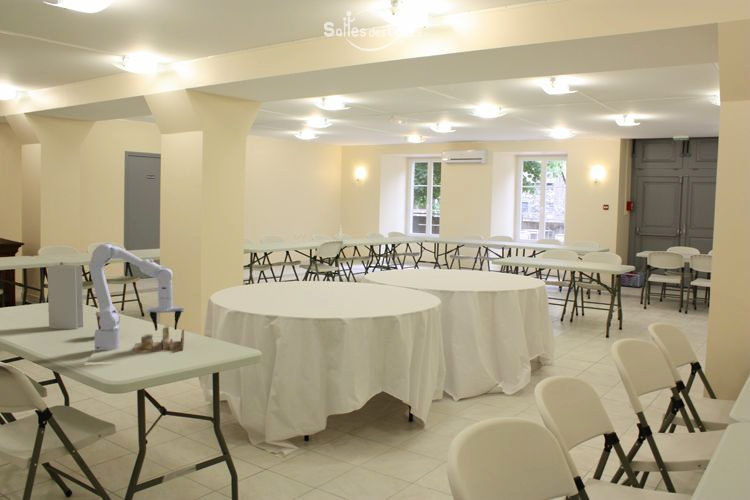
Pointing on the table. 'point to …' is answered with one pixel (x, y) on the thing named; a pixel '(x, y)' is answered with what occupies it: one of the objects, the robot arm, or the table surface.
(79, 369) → the table surface
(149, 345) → the block
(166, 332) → the plywood sheet
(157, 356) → the table surface
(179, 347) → the walnut rack
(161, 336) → the slate mat
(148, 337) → the upper offcut
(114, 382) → the table surface
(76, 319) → the tall grey upright box
